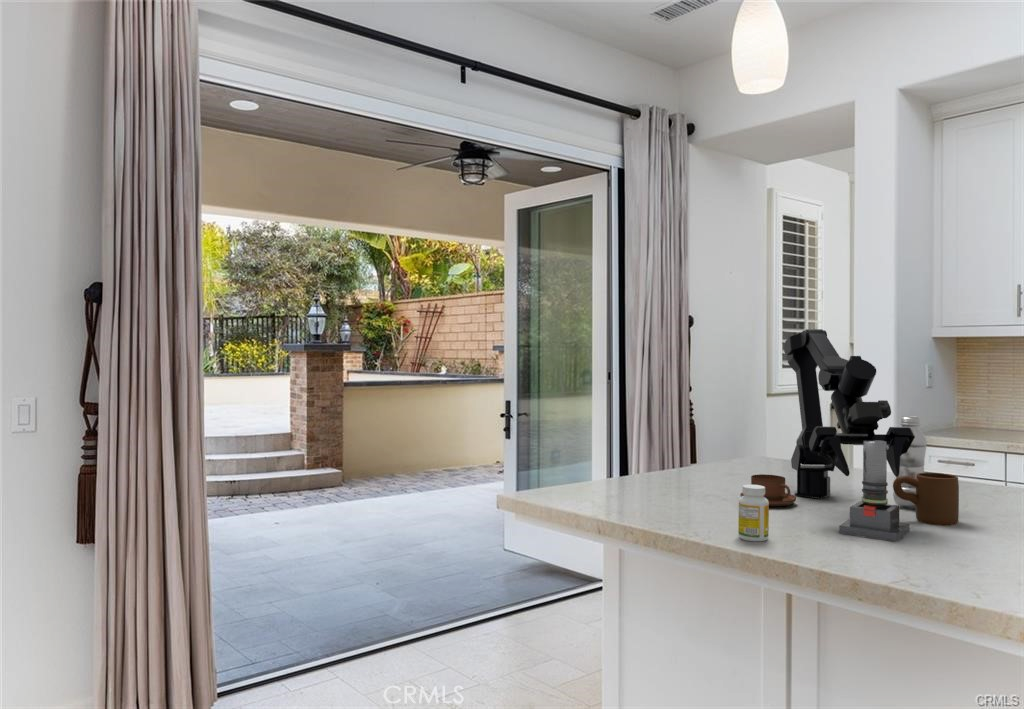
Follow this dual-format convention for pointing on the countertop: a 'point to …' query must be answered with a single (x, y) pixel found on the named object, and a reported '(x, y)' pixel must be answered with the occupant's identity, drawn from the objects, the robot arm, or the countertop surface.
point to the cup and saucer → (774, 489)
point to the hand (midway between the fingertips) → (872, 475)
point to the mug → (932, 497)
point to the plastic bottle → (911, 459)
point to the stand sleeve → (875, 522)
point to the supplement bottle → (753, 514)
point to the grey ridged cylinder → (874, 472)
